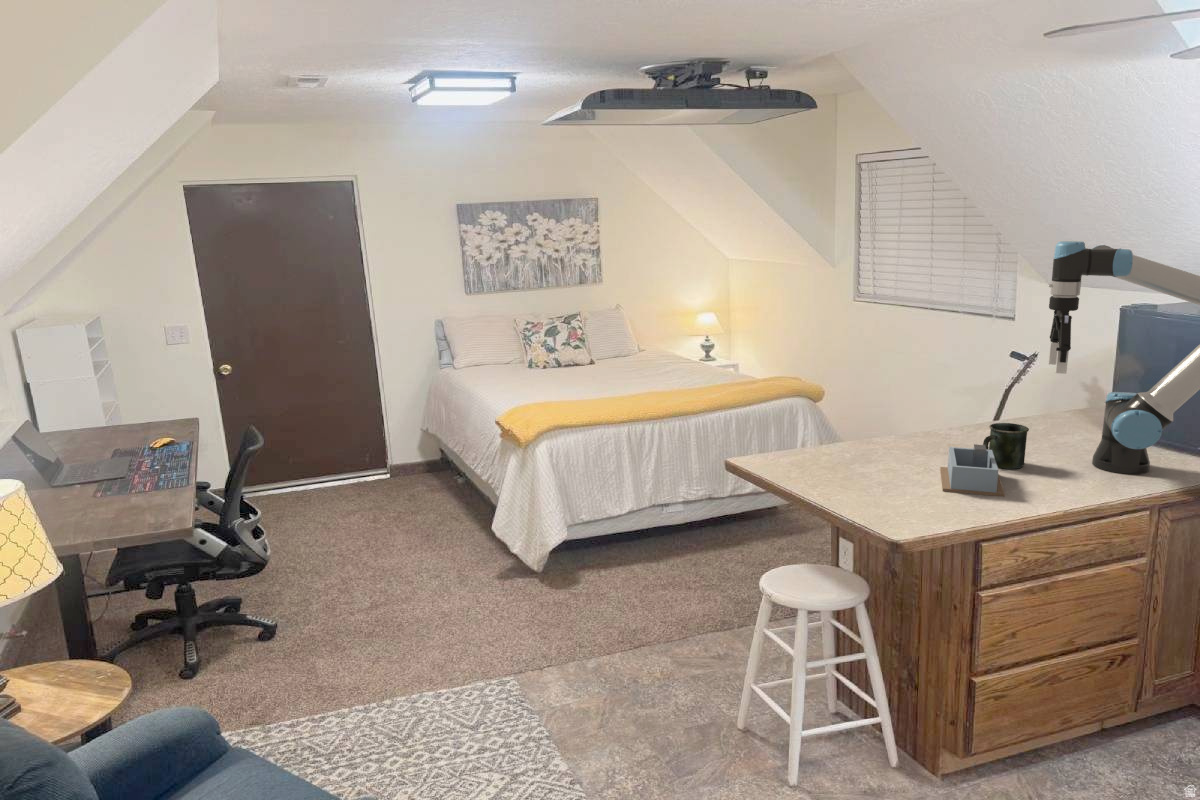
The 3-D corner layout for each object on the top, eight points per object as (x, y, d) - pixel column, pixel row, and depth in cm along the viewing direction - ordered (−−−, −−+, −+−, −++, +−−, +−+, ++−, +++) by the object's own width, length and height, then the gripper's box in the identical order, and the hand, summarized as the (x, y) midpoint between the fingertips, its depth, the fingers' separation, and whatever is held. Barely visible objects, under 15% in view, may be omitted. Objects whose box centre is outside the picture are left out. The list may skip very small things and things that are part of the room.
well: (997, 473, 267) (999, 450, 266) (1004, 496, 248) (1006, 471, 246) (940, 469, 272) (942, 446, 271) (942, 491, 253) (944, 466, 251)
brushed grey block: (982, 477, 261) (985, 445, 259) (983, 483, 257) (986, 449, 255) (958, 476, 263) (961, 443, 261) (959, 481, 259) (962, 448, 257)
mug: (1033, 467, 273) (1037, 429, 270) (995, 473, 268) (999, 434, 265) (1006, 457, 283) (1009, 421, 280) (969, 463, 278) (972, 426, 275)
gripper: (1044, 290, 269) (1037, 360, 273) (1056, 300, 246) (1049, 376, 250) (1071, 291, 266) (1064, 361, 271) (1087, 301, 243) (1079, 377, 248)
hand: (1057, 368), depth 261 cm, fingers open, 13 cm apart
